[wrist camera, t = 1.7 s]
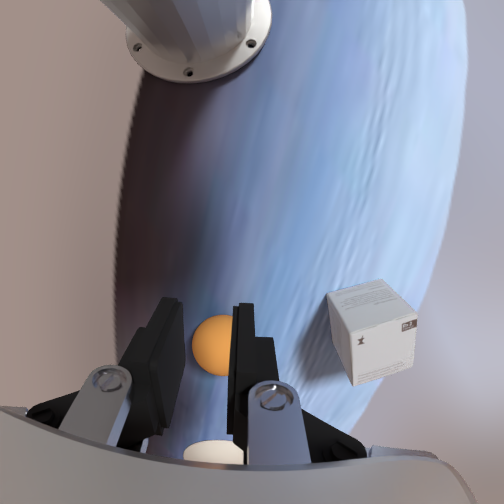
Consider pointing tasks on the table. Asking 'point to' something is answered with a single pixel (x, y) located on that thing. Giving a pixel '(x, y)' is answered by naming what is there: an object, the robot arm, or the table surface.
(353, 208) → the table surface
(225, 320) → the ball
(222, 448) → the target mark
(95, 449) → the robot arm
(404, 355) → the skincare box
